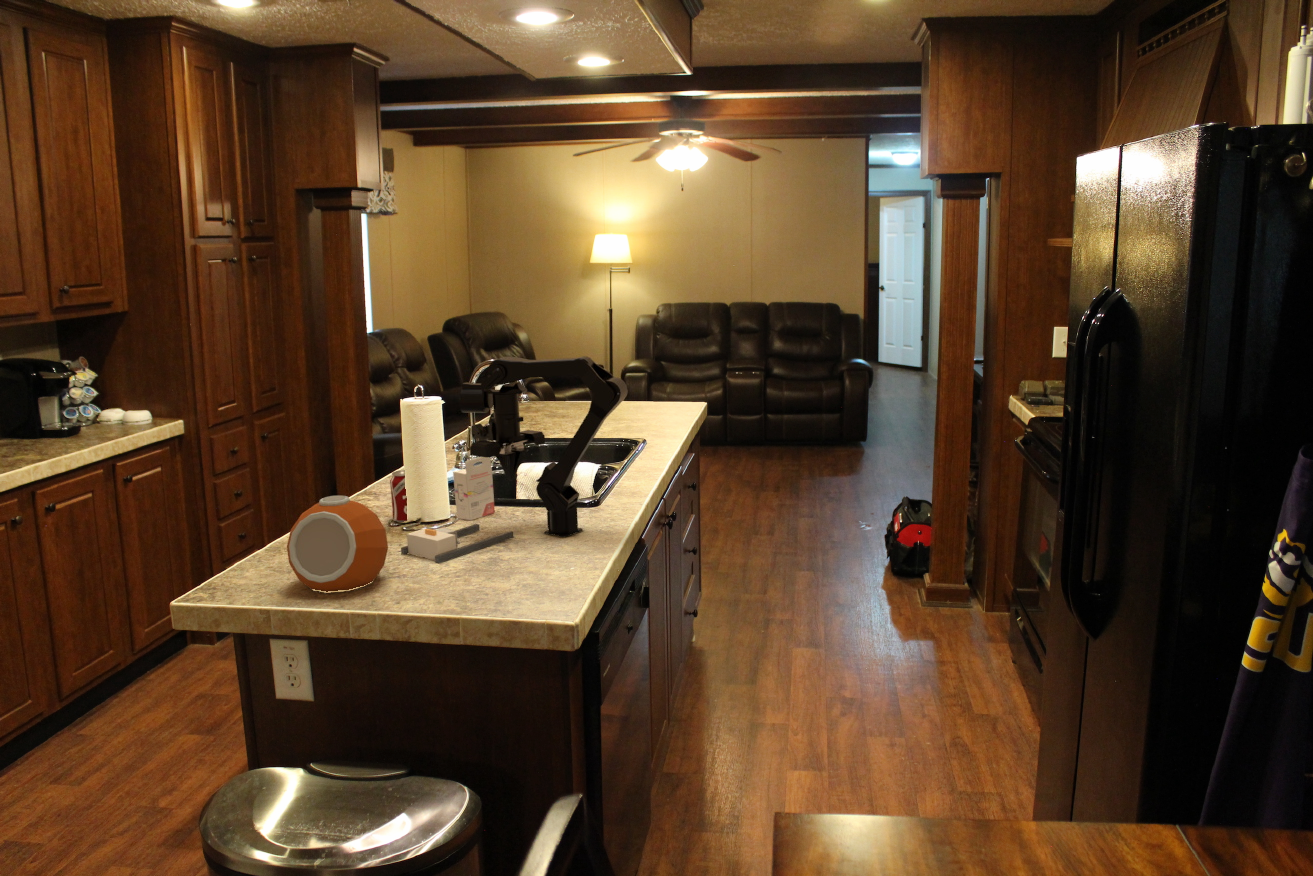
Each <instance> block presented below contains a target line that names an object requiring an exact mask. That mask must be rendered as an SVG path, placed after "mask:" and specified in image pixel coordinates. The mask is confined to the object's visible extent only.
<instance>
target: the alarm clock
mask: <svg viewBox="0 0 1313 876" xmlns="http://www.w3.org/2000/svg"><path fill="white" fill-rule="evenodd" d="M318 501H319V502H317V503H315V504H314V505H312V506H311V507H310V508H308V509H307V510H305V511H304V512H302V513H301V514H300V516H299V517H298V519H297V520H296V521H295V523H294V525H293V526H292V528H291V529H290V532H289V535H288V540H287V543H286V544H287V545H286V550H287V558H288V563H289V565H290V567H291V569H292V571H293V572H294V574H295V576H296V578H297V579H298V580H299V581H300V582H301V583H302V584H303V585H305V586H307V587H308V588H309V589H310V588H311V589H315V590H321V591H326V592H328V591H338V590H349V589H353V588H356V587H360V586H364V585H366V584H368V583H370V582H372V581H373V582H374V581H375V580H376V578H377V576H378V575H379V574H380V572H381V571H382V570H383V567H384V566H385V562H386V558H387V555H388V554H387V553H388V550H389V544H388V539H387V531H386V528H385V527H384V525H383V523H382V521H381V519H380V518H379V516H378V515H377V514H376V513H375V512H374V511H372V510H371V509H370V508H369V507H368V506H366V505H364V504H363V503H360V502H358V501H355V500H351V499H350V498H349V496H346V495H330V496H325V497H323V498H321V499H319V500H318ZM373 582H372V583H373ZM311 589H310V590H311Z"/></svg>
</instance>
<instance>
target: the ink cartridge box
mask: <svg viewBox="0 0 1313 876" xmlns="http://www.w3.org/2000/svg"><path fill="white" fill-rule="evenodd" d="M476 463H481V464H477V465H474V464H476ZM464 465H465V466H464V467H465V468H463V469H458V470H455V471H452V473H453V474H452V475H453V486H454V497H455V499H454V501H455V508H456V509H455V511H456V518H457V519H461V520H467V521H473V520H475V519H479V518H482V517H485V516H489V515H492V514H494V513H495V511H496V510H495V498H494V497H495V496H494V483H493V482H494V481H493V467H492V463H491V457H480V456H478V457H476V458H472V459H467V460H466V461H464Z"/></svg>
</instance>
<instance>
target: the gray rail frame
mask: <svg viewBox="0 0 1313 876" xmlns="http://www.w3.org/2000/svg"><path fill="white" fill-rule="evenodd" d="M454 531H456V532H457V539H458V538H461V537H465V536H467V535H471V534H473V533H476V532H477V533H478V532H479V531H480V524H479V523H474V524H471V525H469V526H466V527H461V528H458V529H456V530H454ZM511 539H514V531H513V530H508V531H504V532H503V533H499V534H496V535H493V536H490V537H487V538H485V539H482V540H479V541H475V542H472V543H470V544H465V545H464V546H460V547H457V548H456V549H454V550H451V551H448V552H445V553H442V554H439V555H436V556H435V560H434V562H435V563H436V564H441V563H444V562H447V561H450V560H453V559H455V558H458V557H462V556H465V555H468V554H470V553H473V552H477V551H479V550H482V549H485V548H487V547H490V546H494V545H497V544H500V543H502V542H503V543H504V542H505V541H507V540H511ZM407 553H408V545H405V546H402V547H400V554H401V555H402V554H406V555H408V554H407Z"/></svg>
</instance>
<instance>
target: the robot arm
mask: <svg viewBox="0 0 1313 876" xmlns="http://www.w3.org/2000/svg"><path fill="white" fill-rule="evenodd" d="M568 376H569V377H571V376H577V377H578V378H580V380H581V381H582V382H583V383H584V385H585V387H586V388H587V389H588V390H589V391H590V392H592V394H593V396H592V398H591V401H590V405H589V408H588V409H589V410H588V413H586V416H585V418H584V419H583V421H582V422H581V423H580V425H579V427H578V429H577V431H576V432H575V433H574V436H573V437H572V438H571V441H570V442H569V443H568V445H567V446H566V449H565V450H564V451H563V453H562V455H561V456H560V459H559V460H558V461H557V462H555V461H554V460H553V461H552V462H550V463H548V464H547V465H546V466H545V467H544V468H543V470H542V472H541V473H542V474H541V475H540V476H539V478H538V479H536V482H537V485H536V488H535V491H536V492H537V493H536V494H537V496H538V497H539V499H540V500H541V501H542V503H543V504H544V507H545V510H546V511H547V512H546V519H547V529H546V530H544V531H543V533H544V534H545V535H551V536H555V537H561V538H566V537H570V536H572V535H575V534H578V533H580V532H583V531H584V529H583V528H581V527H579V522H578V506H577V505H575V503H577V502H578V500H579V497H580V493H579V492H578V491H577V490H576V489H575V487H573V486H572V485H571V483H572V480H573V479H574V473H575V470H576V467H577V466H578V465H579V463H580V461H581V459H582V458H583V456H584V454H585V453H586V451H587V449H588V448H589V446H590V445H591V443H592V441H593V440H594V439H595V436H596V435H597V433H598V431H599V430H600V428H601V426H602V425H603V423H604V422H605V421H606V419H607V418H608V417H609V416H610V415H611V414H612V413H613V412H614V411H615V410H616V409H617V407H619V405H620V404H621V403H622V402H623V401H624V400H625V398H626V397H627V396H628V393H629V392H628V391H629V390H628V386H627V384H626V382H625V381H624V380H623V379H622V378H620V377H617V376H614V375H613V374H612V373H610V372H609V371H608V370H606V369H604V367H602V366H600V365H598V364H597V363H596V362H595V361H594V360H593V359H592V358H591V357H589V356H586V355H583V356H580V357H567V358H551V359H549V358H548V359H527V358H523V357H516V356H503V357H499V358H497V359H494V360H492V361H491V362H490V363H489V365H488V367H487V374H486V376H485V378H484V379H483V380H482V382H481V383H474V382H463V383H462V384H461V390H460V393H459V398H458V406H459V409H460V412H461V413H463V414H465V413H466V414H467V413H468V414H469V413H472V414H473V413H474V414H476V413H477V414H487V413H489V411H490V410H491V409H492V410H493V417H490V419H489V424H488V425H483V424H482V423H476V424H473V425H471V426H470V427H471V433H470V434H471V436H472V438H473V440H478V441H474V442H472V443H471V444H470V445H469V453H470V454H469V455H470V456H475V457H490V458H491V457H495V458H496V459H497V460H498V462H499V464H500V465H501V468H502V470H503V473H504V475H505V477H506V480H507V481H509V482H511V481H514V479H515V477H516V475H517V472H518V470H519V467H520V465H521V463H522V460H523V459H524V456H525V455H526V453H527V452H528V451H529V449H528V448H525V446H524V445H525V444H528V443H533V444H534V445H535V446H540V445H541V446H542V445H544V444H546V438H545V437H546V436H545V434H544V433H543V431H541V430H531V429H526V430H523V431H521V425H520V424H521V422H524V416H520V405H519V404H520V403H519V401H520V399H519V395H522V394H525V393H527V392H528V389H527V388H526V387H525V386H524V385H523V384H522V383H521V382H520V381H522V380H526V379H534V378H550V377H568ZM510 383H514V385H507V384H510ZM499 386H501V387H500V389H493V388H496V387H499Z"/></svg>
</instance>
